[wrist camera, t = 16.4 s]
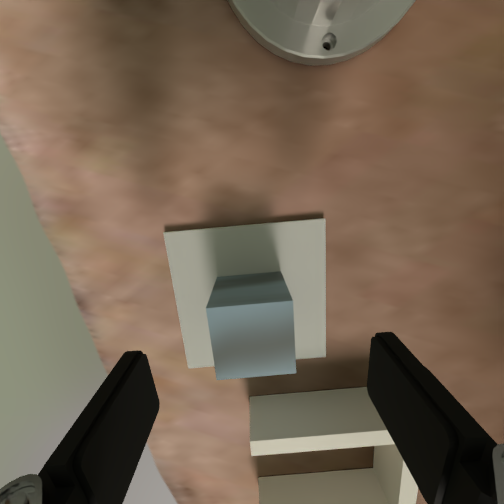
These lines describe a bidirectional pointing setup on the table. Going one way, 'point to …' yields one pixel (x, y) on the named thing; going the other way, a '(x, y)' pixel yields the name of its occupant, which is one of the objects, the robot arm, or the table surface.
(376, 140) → the table surface
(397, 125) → the table surface
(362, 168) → the table surface
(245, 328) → the block
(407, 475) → the bay
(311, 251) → the mat
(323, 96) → the table surface
